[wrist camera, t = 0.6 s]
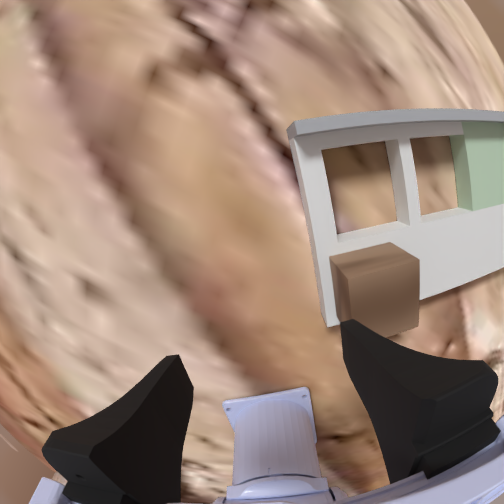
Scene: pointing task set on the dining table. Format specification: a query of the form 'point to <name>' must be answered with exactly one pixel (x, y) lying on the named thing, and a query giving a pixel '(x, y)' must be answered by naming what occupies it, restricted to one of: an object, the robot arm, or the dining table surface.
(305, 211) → the board
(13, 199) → the dining table surface
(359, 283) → the walnut block
